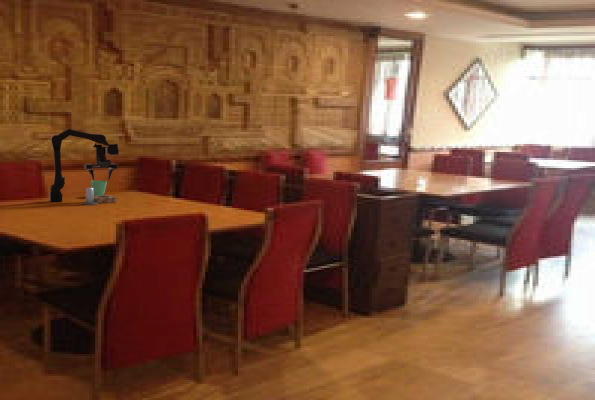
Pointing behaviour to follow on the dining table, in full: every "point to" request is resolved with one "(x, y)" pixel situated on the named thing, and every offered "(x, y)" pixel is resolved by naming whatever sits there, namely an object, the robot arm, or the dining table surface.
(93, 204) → the coaster
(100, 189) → the mug
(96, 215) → the dining table surface
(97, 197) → the frame
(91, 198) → the grey rounded cylinder
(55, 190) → the robot arm
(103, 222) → the dining table surface
